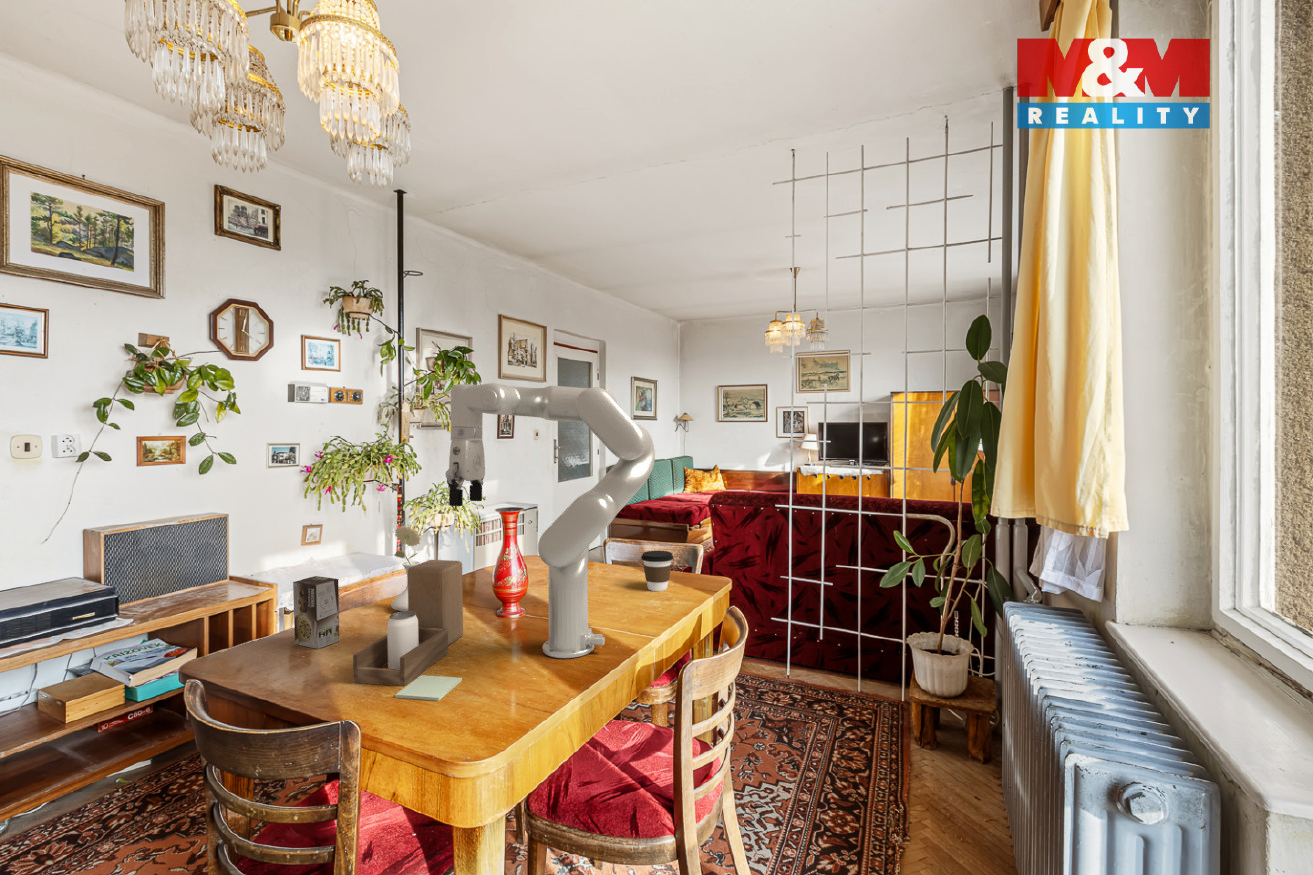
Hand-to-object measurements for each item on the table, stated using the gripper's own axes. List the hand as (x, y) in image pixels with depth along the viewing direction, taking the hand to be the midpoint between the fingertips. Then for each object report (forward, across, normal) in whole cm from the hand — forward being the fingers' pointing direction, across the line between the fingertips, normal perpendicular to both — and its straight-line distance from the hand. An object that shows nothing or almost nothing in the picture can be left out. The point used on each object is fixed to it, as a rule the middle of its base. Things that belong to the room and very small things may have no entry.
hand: (466, 503), depth 146 cm
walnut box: (+36, -14, +8) cm, 39 cm away
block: (+36, +2, +9) cm, 37 cm away
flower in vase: (+36, +26, +32) cm, 55 cm away
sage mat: (+36, -24, -5) cm, 43 cm away
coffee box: (+37, -4, +39) cm, 53 cm away
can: (+36, -14, +8) cm, 40 cm away
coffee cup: (+35, +59, -38) cm, 78 cm away
